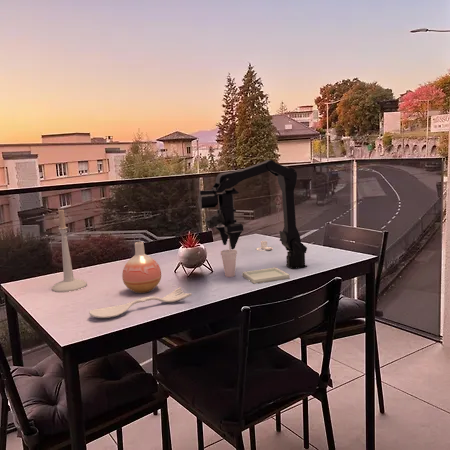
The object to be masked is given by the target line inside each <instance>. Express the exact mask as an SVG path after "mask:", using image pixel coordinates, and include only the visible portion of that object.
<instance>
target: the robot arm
mask: <svg viewBox="0 0 450 450" xmlns="http://www.w3.org/2000/svg"><path fill="white" fill-rule="evenodd" d="M266 172H269V173H270V174H272V175H273V176H275V177H276V179H277V182H278V185H279V188H280V190H281V197H282V211H283V230H278V231H279V236H280V237H279V242H281V244H282V246H283V247H285V250H286V251H287V255H286V263H285V264H286V265H285V267H288V268H290V269H292V270H295V269H301V268H307V267H308V265H307V264H306V253H307V250H308V247H307V246H306V245H304V244H303V242H302V239H301V235H300V232H299V230H298V227H297V222H296V221H297V220H296V202H295V189H296V186H297V182H298V181H297V180H298V173H297V171H296V170H295V169H294V168H292V167H286V166H284V165H281V164H279V162H278V163H277V162H276V161H274V160H273V159H265V160H264V161H262V162H258V163H257V164H254V165H250V166H247V167H246V168H242V169H239V170H233V171H226V172H220V173H218V174H217V176H216V178H215V183H214V184H213V186H212V188H211V189H209V190H202V189H201V190H199V191H198V196H197V197H198V198H197V204H198V207H199V209H200V210H203V209H204V210H205V209H212V208H213V209H215V208H216V206H218V208H217V210H216V213H215V214H212V215H211V216H208V217H206V218H204V222H205V225H206V226H207V228H209V229H212V228H214V229H215V230H217V231H218V232H219V236H220V238H221V242H222V245H223V246H226V245H227V244H228V242H229V241H230V246H231V250H235V248H236V246H237V243H238V241H239V238H240V236H241V233H242V232H244V225H243V224H242V223H241V222H238V221H237V219H235V218H236V217H235V216H236V215H235V212H236V213H237V208H235V204H234V202H235V199H234V195H237V194H239V193H240V192H239V191H237V189H236V188H235V186H237V185H238V184H240V183H241V182H243V181H244V180H247V179H250V178H252V177H256V176H258V175H262V174H264V173H266Z"/></svg>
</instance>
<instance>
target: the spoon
mask: <svg viewBox="0 0 450 450" xmlns="http://www.w3.org/2000/svg"><path fill="white" fill-rule="evenodd" d="M191 296H192V292H191V293H187V292H184V290H183V289H182V287H178V288H176V289H175V290H173V291H171V292H170V293H168V294H166V295H165V296H164V297H158V296H148V297H141V298H138V299H135V300H133V301H130V302H128V303H124V304H118V305H113V306H109V307H101V308H95V309H91V310H89V316H90V317H93V318H99V319H110V318H115V317H118V316H121V315H122V314H124V313H125V312H126V311H128V310H129V309H130V308H131V307H132V306H134V305H136V304H138V303H145V302H149V301H159V302H163V303H175V302H178V301H181V300H184V299H187V298H189V297H191Z"/></svg>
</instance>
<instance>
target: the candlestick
mask: <svg viewBox="0 0 450 450" xmlns="http://www.w3.org/2000/svg"><path fill="white" fill-rule="evenodd" d="M57 211H58V220H59V227H58V230H59V234H60V235H61V253H62V254H61V255H62V269H63V271H62V272H63V280H60V281H58V282H57V283H55V284H54V285H53V286H52V287H51V291H52V290H53V291H52V292H54V291H55V292H54V293H70V292H69V291H71V292H75V291H74V290H76V291H79V290H78V289H80V290H82V289H81V288H83V289H85V288H86V287H88V282H87V281H85V280H83V279H80V278H75V277H74V271H73V266H72V259H71V253H70V248H69V243H68V236H67V233H68V226H66V217H65V210H64V209H58V210H57ZM85 286H86V287H85ZM84 287H85V288H84Z"/></svg>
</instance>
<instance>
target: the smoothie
mask: <svg viewBox="0 0 450 450" xmlns="http://www.w3.org/2000/svg"><path fill="white" fill-rule="evenodd" d="M228 246H229V247H228V249H224V250H221V251H220V255H221V259H222V264H223V270H224V275H225V277H226V278H233V277H235V276H236V263H237V255H238V251H237V249H231V246H230V241H229V240H228Z"/></svg>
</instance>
